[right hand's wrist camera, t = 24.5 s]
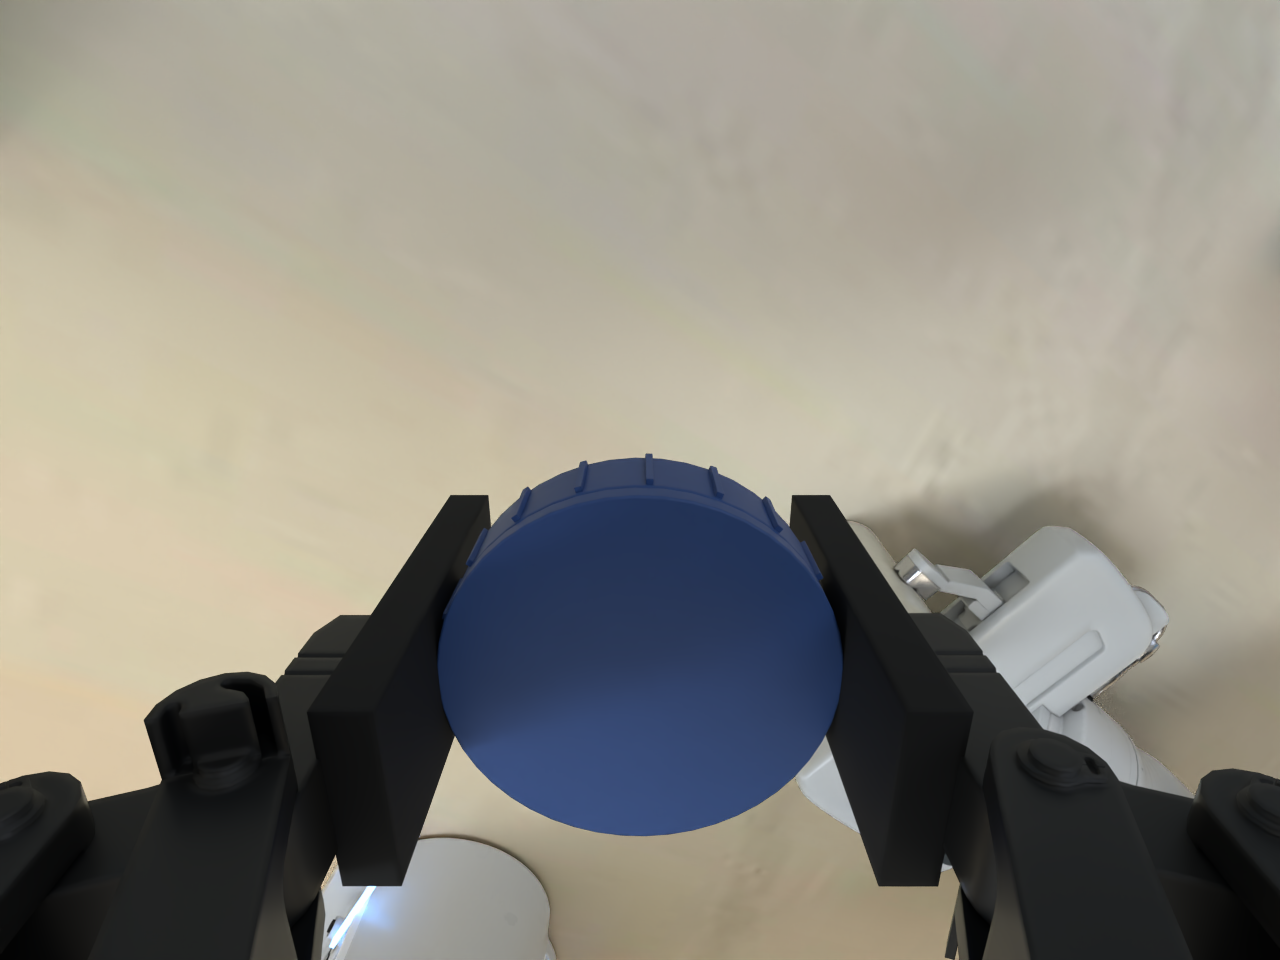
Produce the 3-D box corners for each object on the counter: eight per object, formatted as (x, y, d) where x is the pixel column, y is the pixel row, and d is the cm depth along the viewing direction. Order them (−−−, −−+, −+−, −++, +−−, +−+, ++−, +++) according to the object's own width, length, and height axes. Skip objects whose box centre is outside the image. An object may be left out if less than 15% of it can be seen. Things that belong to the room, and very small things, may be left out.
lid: (399, 510, 11) (361, 558, 10) (779, 403, 11) (801, 436, 9) (529, 797, 14) (514, 873, 12) (852, 722, 13) (881, 791, 11)
